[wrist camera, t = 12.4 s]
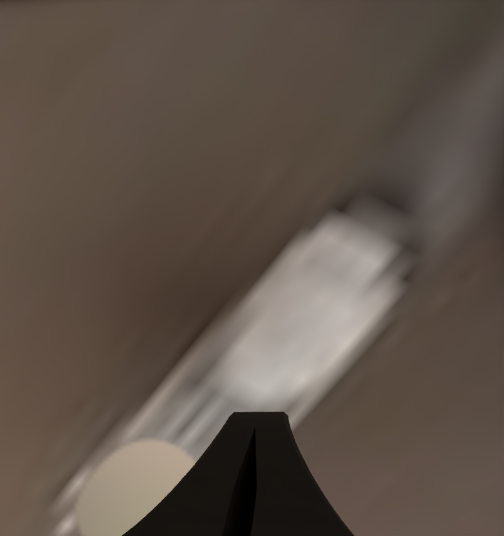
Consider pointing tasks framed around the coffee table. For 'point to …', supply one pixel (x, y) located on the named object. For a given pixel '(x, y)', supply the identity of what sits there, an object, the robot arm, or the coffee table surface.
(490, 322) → the coffee table surface
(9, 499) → the coffee table surface
